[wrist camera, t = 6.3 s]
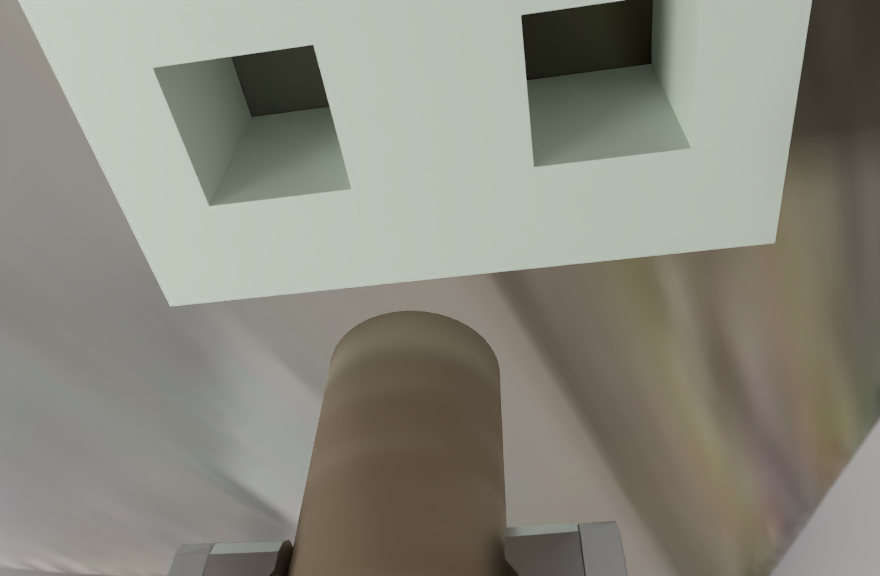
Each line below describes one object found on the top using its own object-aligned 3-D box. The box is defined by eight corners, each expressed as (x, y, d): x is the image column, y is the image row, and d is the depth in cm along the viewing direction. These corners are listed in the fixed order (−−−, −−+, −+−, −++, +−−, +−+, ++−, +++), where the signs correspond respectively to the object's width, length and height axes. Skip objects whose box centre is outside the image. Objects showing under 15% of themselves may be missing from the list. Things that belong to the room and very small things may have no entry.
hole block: (82, -116, 23) (-13, -62, 19) (759, -235, 21) (844, -207, 16) (214, 209, 31) (170, 306, 26) (723, 148, 28) (774, 242, 24)
